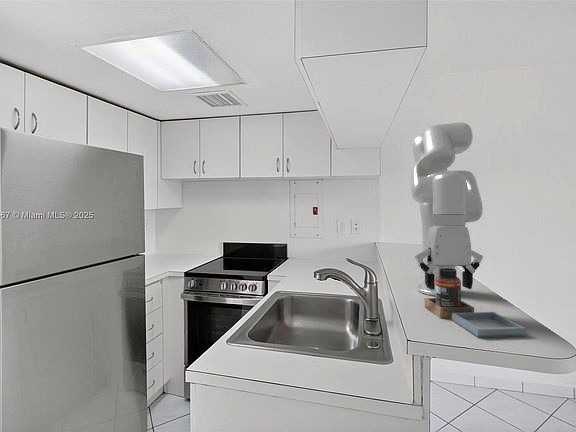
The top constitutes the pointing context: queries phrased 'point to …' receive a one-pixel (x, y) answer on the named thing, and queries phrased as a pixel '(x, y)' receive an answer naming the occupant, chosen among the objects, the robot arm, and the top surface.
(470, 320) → the tray
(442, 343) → the top surface
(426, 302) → the holder
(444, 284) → the supplement bottle
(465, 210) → the robot arm
